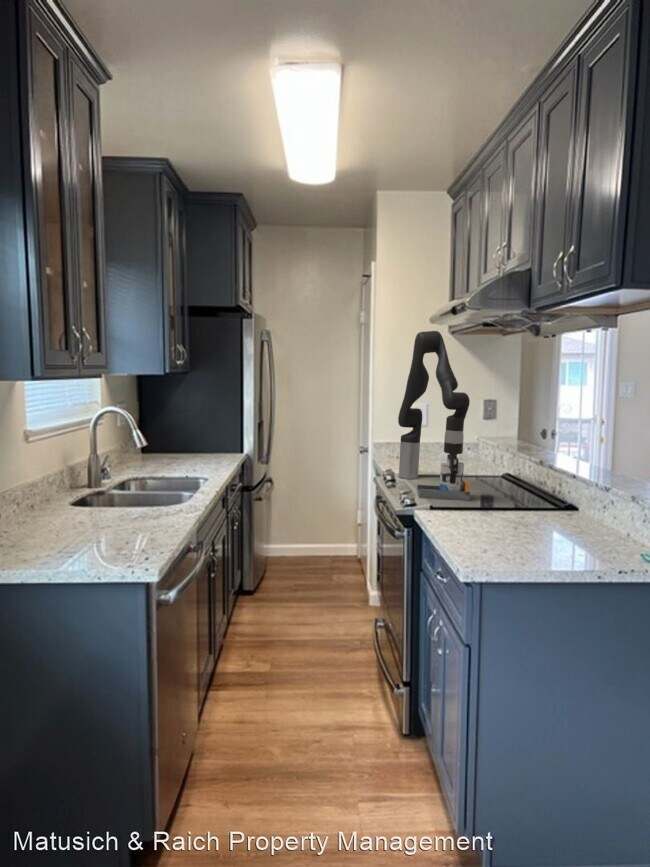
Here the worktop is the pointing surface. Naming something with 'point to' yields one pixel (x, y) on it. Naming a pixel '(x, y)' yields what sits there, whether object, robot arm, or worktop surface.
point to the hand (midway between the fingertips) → (451, 481)
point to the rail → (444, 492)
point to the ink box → (446, 477)
